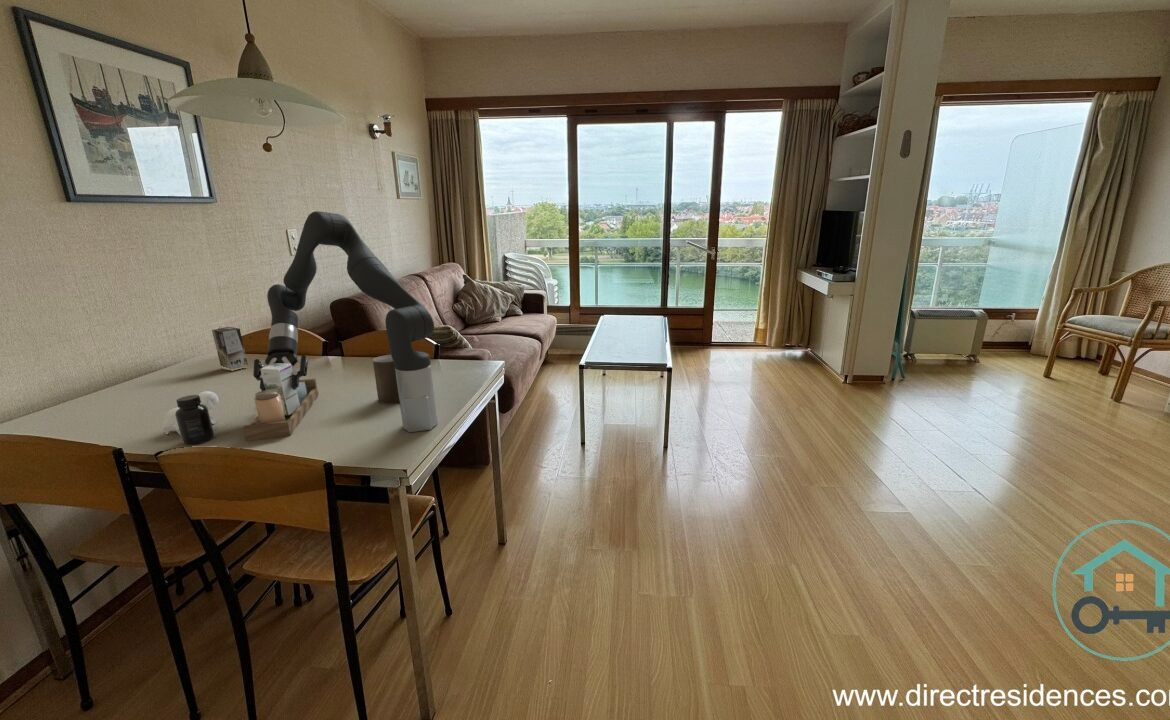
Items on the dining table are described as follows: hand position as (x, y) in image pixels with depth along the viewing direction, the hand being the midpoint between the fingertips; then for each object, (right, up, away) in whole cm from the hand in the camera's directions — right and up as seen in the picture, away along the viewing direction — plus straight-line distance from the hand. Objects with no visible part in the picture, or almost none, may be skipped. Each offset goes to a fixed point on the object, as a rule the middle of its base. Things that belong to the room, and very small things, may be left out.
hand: (279, 389), depth 143 cm
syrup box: (0, -7, +4) cm, 8 cm away
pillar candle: (+27, -4, +16) cm, 32 cm away
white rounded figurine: (-23, -11, -2) cm, 25 cm away
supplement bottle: (-15, -13, -11) cm, 22 cm away
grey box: (-3, -5, +14) cm, 15 cm away
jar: (+3, -11, -6) cm, 13 cm away
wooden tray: (0, -8, +4) cm, 9 cm away
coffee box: (-51, +5, +53) cm, 74 cm away
